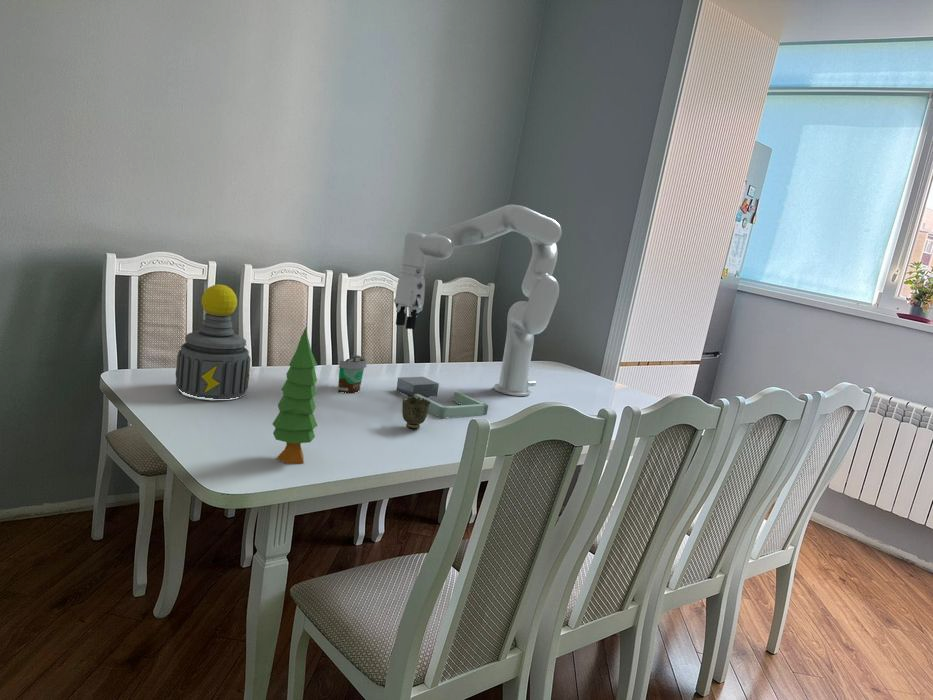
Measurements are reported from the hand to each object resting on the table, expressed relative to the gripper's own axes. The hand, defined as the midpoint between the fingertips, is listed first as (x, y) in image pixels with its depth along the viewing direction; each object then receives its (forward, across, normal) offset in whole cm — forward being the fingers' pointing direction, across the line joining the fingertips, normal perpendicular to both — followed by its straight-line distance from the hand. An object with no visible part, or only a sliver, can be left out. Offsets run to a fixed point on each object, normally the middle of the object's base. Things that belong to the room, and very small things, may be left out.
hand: (405, 326), depth 239 cm
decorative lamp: (+20, 0, +62) cm, 65 cm away
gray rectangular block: (+20, -11, 0) cm, 23 cm away
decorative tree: (+20, -52, +64) cm, 85 cm away
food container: (+20, -5, +20) cm, 28 cm away
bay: (+19, -28, 0) cm, 34 cm away
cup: (+20, -41, +23) cm, 51 cm away
